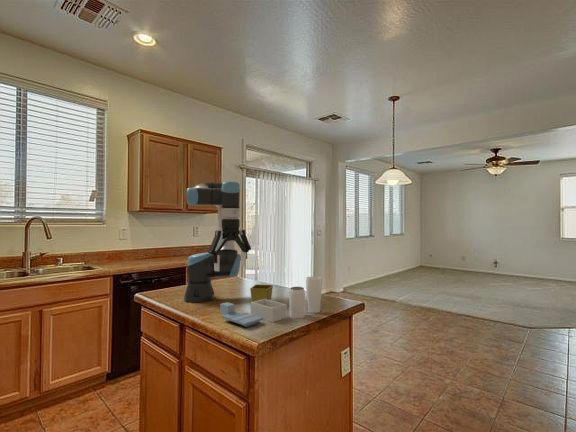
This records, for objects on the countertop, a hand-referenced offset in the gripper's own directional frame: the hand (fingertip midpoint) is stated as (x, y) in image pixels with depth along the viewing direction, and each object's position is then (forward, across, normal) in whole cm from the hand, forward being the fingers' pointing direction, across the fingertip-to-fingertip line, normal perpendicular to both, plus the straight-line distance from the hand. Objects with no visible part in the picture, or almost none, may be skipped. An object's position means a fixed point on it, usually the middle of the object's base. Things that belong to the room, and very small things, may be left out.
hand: (230, 269), depth 132 cm
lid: (+20, -3, -10) cm, 22 cm away
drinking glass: (+20, +28, -23) cm, 41 cm away
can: (+20, +18, -22) cm, 34 cm away
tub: (+20, +9, -14) cm, 26 cm away
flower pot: (+20, +20, +2) cm, 28 cm away
